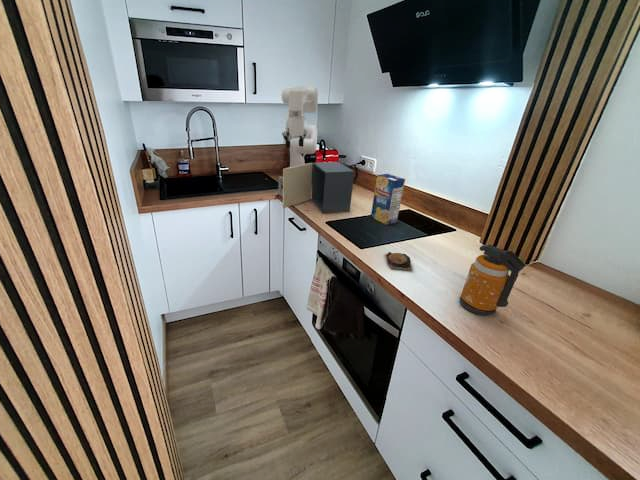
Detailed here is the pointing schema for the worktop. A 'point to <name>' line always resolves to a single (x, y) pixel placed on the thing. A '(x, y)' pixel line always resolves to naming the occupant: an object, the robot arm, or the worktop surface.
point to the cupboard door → (296, 184)
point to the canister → (490, 280)
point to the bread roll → (398, 261)
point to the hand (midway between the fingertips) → (294, 147)
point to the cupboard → (332, 187)
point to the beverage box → (387, 198)
